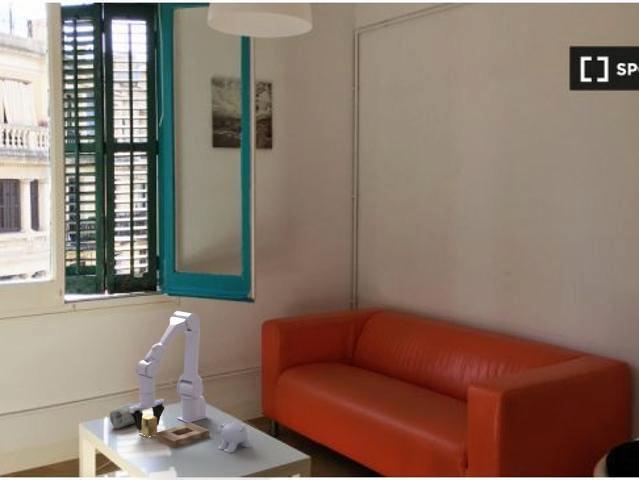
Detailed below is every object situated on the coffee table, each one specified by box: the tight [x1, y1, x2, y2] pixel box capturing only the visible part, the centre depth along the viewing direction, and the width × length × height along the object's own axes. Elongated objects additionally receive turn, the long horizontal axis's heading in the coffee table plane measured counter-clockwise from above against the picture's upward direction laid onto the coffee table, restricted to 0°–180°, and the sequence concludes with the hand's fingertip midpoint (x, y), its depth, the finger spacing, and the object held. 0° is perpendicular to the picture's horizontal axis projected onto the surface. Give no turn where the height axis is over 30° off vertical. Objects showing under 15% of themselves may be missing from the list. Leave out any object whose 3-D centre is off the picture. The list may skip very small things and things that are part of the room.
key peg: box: [138, 413, 158, 437], centre depth 290 cm, size 4×6×7 cm, turn 46°
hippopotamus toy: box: [217, 421, 252, 454], centre depth 278 cm, size 11×15×10 cm
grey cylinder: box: [109, 402, 144, 430], centre depth 300 cm, size 14×10×10 cm
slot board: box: [154, 422, 211, 449], centre depth 286 cm, size 16×12×2 cm
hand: (147, 427), depth 290 cm, fingers open, 7 cm apart
